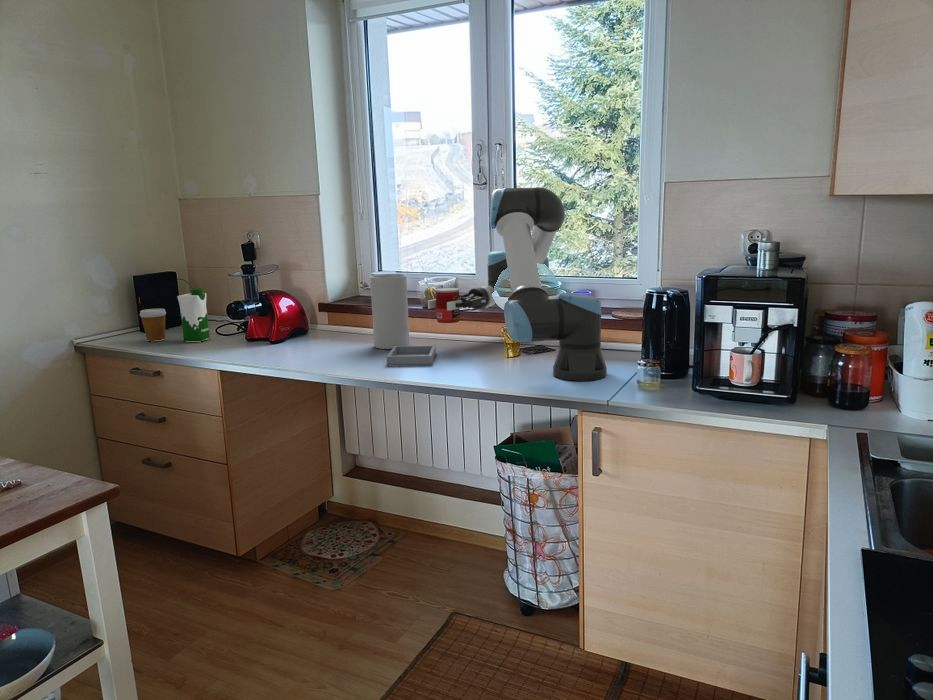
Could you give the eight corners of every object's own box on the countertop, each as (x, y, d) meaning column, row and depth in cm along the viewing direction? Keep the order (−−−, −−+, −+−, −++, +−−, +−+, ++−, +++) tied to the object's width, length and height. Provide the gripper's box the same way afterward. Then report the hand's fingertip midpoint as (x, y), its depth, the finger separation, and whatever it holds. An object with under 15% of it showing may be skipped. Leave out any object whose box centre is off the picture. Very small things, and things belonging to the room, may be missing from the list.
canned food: (457, 323, 230) (456, 290, 228) (434, 323, 231) (432, 290, 229) (462, 319, 237) (461, 287, 235) (439, 319, 239) (438, 287, 237)
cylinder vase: (404, 350, 238) (401, 277, 233) (369, 350, 240) (365, 278, 235) (413, 342, 250) (410, 273, 245) (380, 342, 252) (376, 274, 247)
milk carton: (202, 343, 261) (196, 290, 256) (179, 343, 262) (173, 290, 258) (213, 338, 269) (208, 287, 265) (191, 338, 270) (186, 287, 266)
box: (431, 365, 215) (431, 355, 214) (387, 366, 216) (386, 356, 215) (436, 354, 231) (435, 345, 230) (394, 354, 231) (394, 346, 231)
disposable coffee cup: (163, 342, 264) (159, 311, 261) (138, 343, 264) (134, 312, 261) (173, 338, 273) (170, 308, 270) (149, 338, 273) (146, 308, 271)
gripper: (505, 310, 240) (462, 319, 224) (459, 306, 254) (416, 314, 237) (504, 288, 239) (461, 296, 222) (459, 285, 252) (415, 292, 235)
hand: (438, 305), depth 230 cm, fingers closed on canned food, 8 cm apart
